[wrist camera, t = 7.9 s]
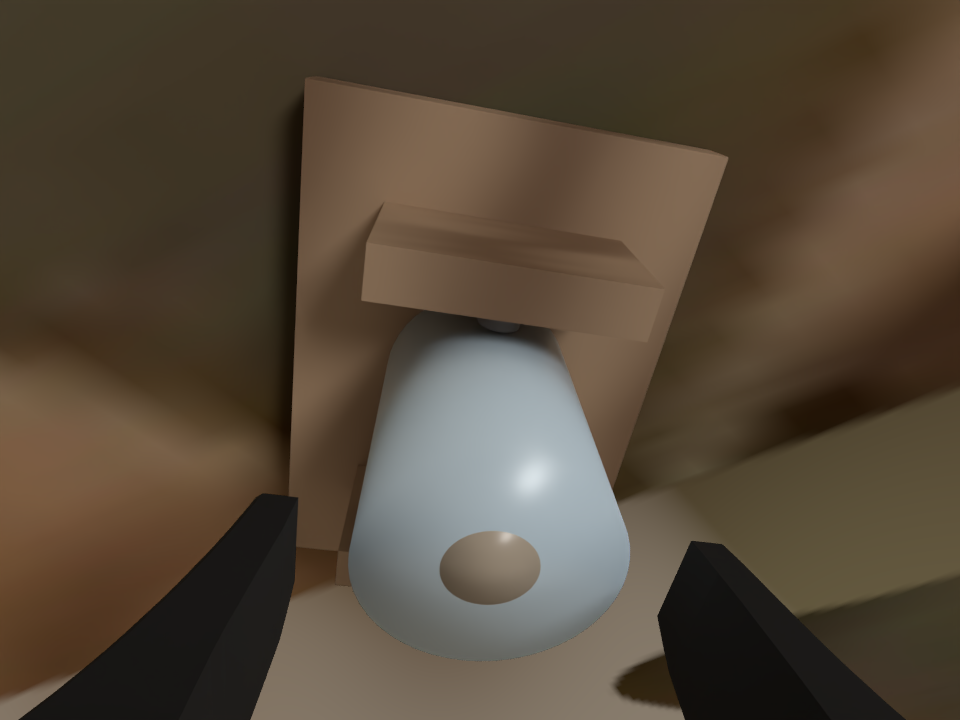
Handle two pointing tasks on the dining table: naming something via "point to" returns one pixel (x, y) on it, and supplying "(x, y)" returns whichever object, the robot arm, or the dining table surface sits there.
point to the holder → (474, 263)
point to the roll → (483, 497)
